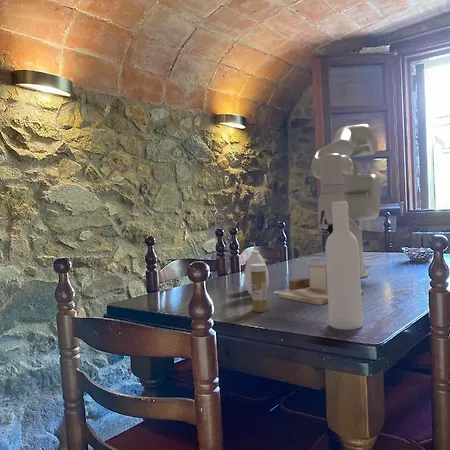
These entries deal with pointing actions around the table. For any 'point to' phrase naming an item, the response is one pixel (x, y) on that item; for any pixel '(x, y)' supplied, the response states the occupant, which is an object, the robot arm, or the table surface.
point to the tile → (318, 277)
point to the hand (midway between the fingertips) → (334, 244)
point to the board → (308, 295)
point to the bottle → (343, 273)
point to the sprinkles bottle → (259, 287)
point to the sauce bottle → (253, 259)
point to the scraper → (296, 285)
